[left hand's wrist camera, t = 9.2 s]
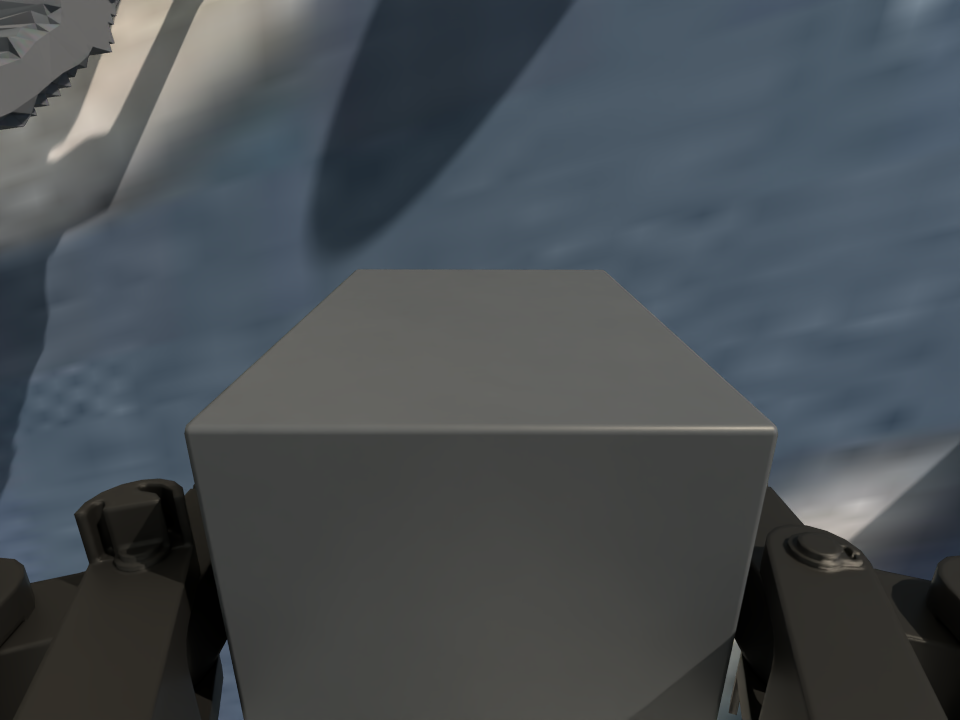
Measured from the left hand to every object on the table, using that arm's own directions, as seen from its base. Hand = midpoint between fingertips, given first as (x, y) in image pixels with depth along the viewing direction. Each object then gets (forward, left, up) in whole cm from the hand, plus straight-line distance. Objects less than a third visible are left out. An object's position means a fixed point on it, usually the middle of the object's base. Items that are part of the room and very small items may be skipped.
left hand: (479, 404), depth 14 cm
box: (+2, +7, -1) cm, 7 cm away
